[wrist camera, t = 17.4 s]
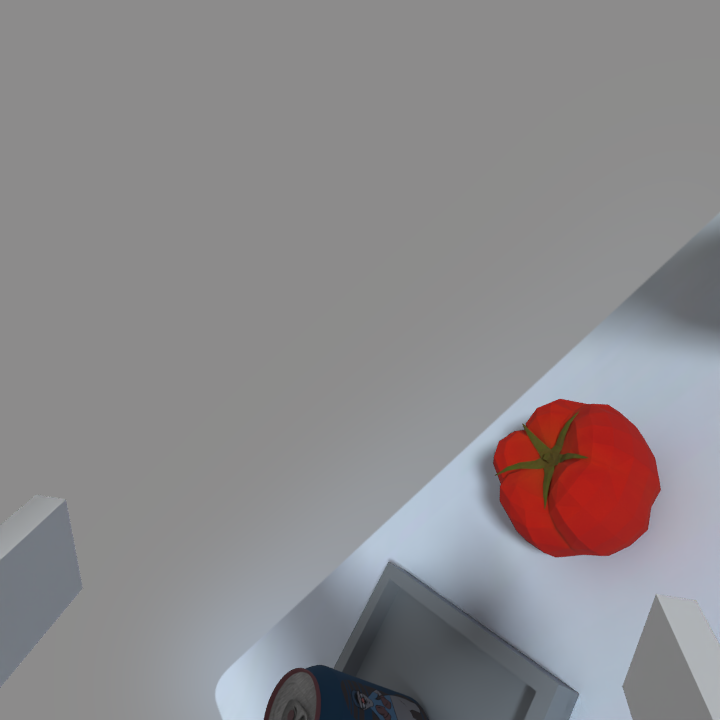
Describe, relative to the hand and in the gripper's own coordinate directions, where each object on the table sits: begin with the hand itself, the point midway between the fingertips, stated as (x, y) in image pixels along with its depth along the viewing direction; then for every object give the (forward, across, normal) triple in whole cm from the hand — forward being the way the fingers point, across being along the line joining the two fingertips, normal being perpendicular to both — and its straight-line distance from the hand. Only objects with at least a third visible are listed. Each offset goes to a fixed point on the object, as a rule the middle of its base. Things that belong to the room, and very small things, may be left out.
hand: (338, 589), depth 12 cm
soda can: (+18, +4, -34) cm, 39 cm away
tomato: (+28, +16, -16) cm, 36 cm away
